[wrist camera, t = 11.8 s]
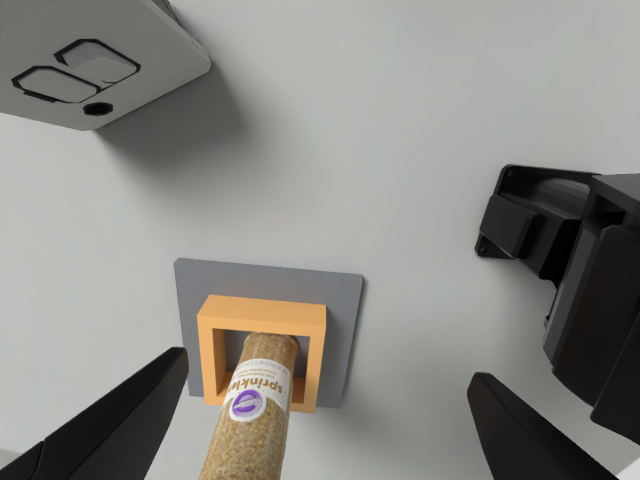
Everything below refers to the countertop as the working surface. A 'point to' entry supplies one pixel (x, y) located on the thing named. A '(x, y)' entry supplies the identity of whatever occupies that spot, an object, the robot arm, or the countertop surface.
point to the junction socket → (267, 324)
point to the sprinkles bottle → (254, 412)
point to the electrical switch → (91, 58)
